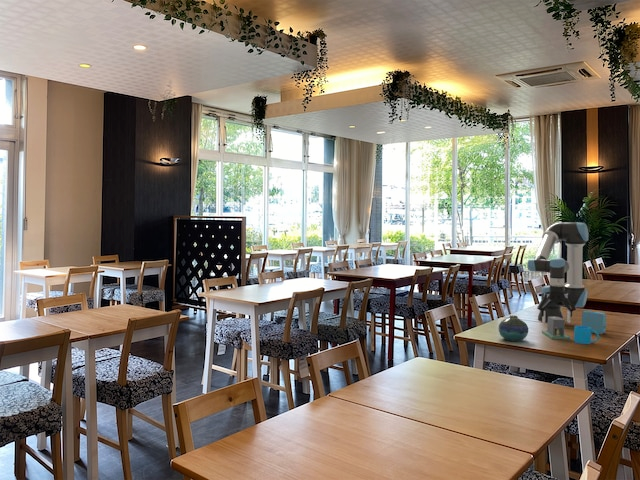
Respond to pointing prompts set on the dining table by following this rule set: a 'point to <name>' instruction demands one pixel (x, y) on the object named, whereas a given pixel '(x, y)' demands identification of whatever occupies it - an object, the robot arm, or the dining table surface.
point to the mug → (583, 335)
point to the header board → (556, 335)
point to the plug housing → (556, 325)
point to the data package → (594, 321)
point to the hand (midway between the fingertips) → (556, 322)
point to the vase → (513, 329)
